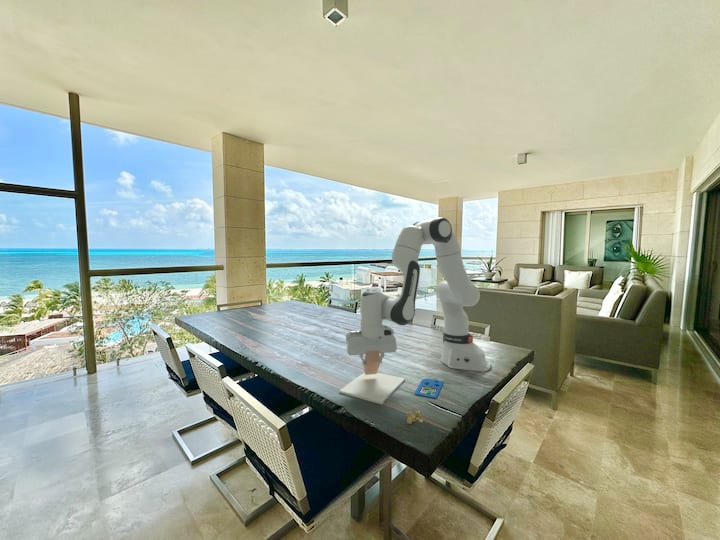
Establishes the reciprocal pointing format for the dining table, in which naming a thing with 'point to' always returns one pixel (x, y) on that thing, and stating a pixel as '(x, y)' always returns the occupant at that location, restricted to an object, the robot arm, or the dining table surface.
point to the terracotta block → (372, 362)
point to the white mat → (373, 387)
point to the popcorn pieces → (413, 417)
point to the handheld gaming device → (429, 388)
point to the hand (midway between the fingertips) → (372, 363)
